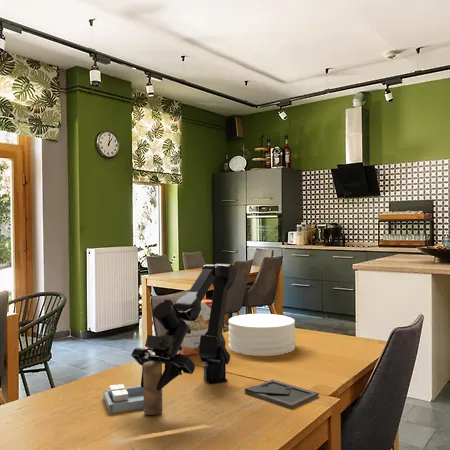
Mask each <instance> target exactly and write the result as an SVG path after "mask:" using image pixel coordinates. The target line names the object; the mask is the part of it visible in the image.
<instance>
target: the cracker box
mask: <svg viewBox="0 0 450 450" xmlns="http://www.w3.org/2000/svg"><path fill="white" fill-rule="evenodd" d="M211 305H212V299H211V300H210V299H202V301H201V311H200V313H199V316H198V318H197V319H196V320H195V321H185V322H186V324H188V325H189V327H190V330H191V334H186V335H185V337H184V339H183V341H182V344H181V347H182V350H181V351H178V354H181V355H188V356H191V355H200V354H199V344H200V337H201V335H205V333H206V332H207V331H208V325H209V318H210V312H211ZM183 321H184V320H183Z"/></svg>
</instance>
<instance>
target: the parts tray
mask: <svg viewBox="0 0 450 450" xmlns="http://www.w3.org/2000/svg"><path fill="white" fill-rule="evenodd" d="M125 389H126V390H127V392H128V401H125V402H118V403H112V401H111V399H110V396H109V389H107V390H103V401H104V402H105V405H106V408H107V411H108V414H112V413H113V414H114V413H121V412H128V411H134V410H139V409H144V388H142V387H141V385H137V386H130V387H128V386H127V387H125Z"/></svg>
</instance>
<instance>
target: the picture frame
mask: <svg viewBox="0 0 450 450" xmlns="http://www.w3.org/2000/svg"><path fill="white" fill-rule="evenodd" d="M244 394H246V395H249V396H251V397H254V398H258V399H260V400H264V401H267V402H269V403H272V404H276V405H279V406H280V407H281V406H282V407H285V408H287V409H290V410H292V409H295V408H297V407H299V406H302V405H304V404H306V403H309V401H312V400H315V399H316V397H317V398H319V397H318V396H319V392H316V391H312V390H309V389H306V388H303V387H299V386H296V385H292V384H289V383H286V382H281V381H279V380H274V379H270V380H268V381H265V382H262V383H259V384H257V385H252V386H249V387H244Z"/></svg>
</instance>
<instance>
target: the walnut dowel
mask: <svg viewBox="0 0 450 450" xmlns="http://www.w3.org/2000/svg"><path fill="white" fill-rule="evenodd" d="M162 374H163V364H162V362H159V361H149V362H145V363H144V364H143V380H144V408H143V413H144V415H149V416H156V415H159V414H162V412H163V388H162V389H161V390H160V391H157V389H156V388H157V385H158V383H159V381H160V378H161V376H162Z"/></svg>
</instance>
